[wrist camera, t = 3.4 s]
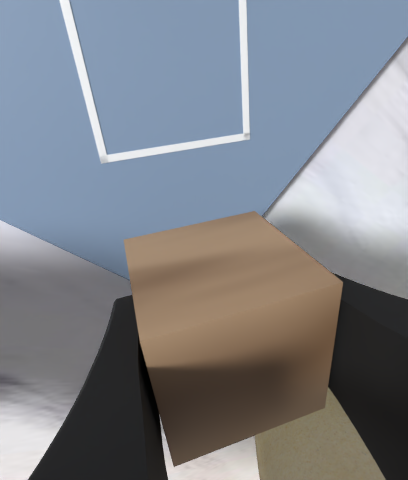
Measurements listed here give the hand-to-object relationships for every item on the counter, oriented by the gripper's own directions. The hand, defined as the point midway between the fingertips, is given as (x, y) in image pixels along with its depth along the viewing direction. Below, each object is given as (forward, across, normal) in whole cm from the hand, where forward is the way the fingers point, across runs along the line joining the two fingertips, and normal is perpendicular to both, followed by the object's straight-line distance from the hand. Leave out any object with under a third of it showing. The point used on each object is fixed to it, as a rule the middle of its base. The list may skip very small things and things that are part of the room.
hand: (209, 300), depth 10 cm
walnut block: (+1, 0, 0) cm, 1 cm away
